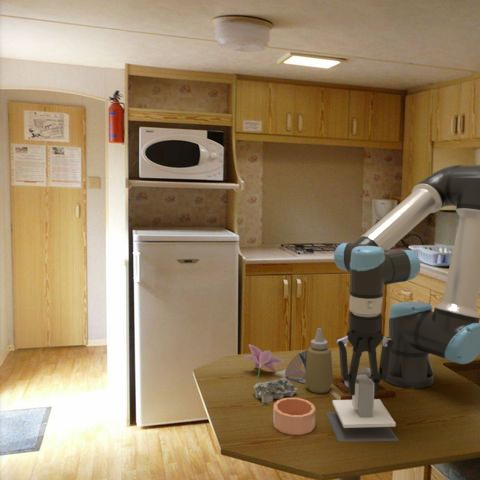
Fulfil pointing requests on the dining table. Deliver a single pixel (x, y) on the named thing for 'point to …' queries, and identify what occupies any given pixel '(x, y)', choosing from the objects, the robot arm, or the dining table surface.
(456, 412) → the dining table surface
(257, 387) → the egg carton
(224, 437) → the dining table surface
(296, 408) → the bowl
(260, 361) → the lily
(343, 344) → the robot arm
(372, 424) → the cover sheet
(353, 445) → the dining table surface
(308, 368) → the squeeze bottle
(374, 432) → the rubber mat
